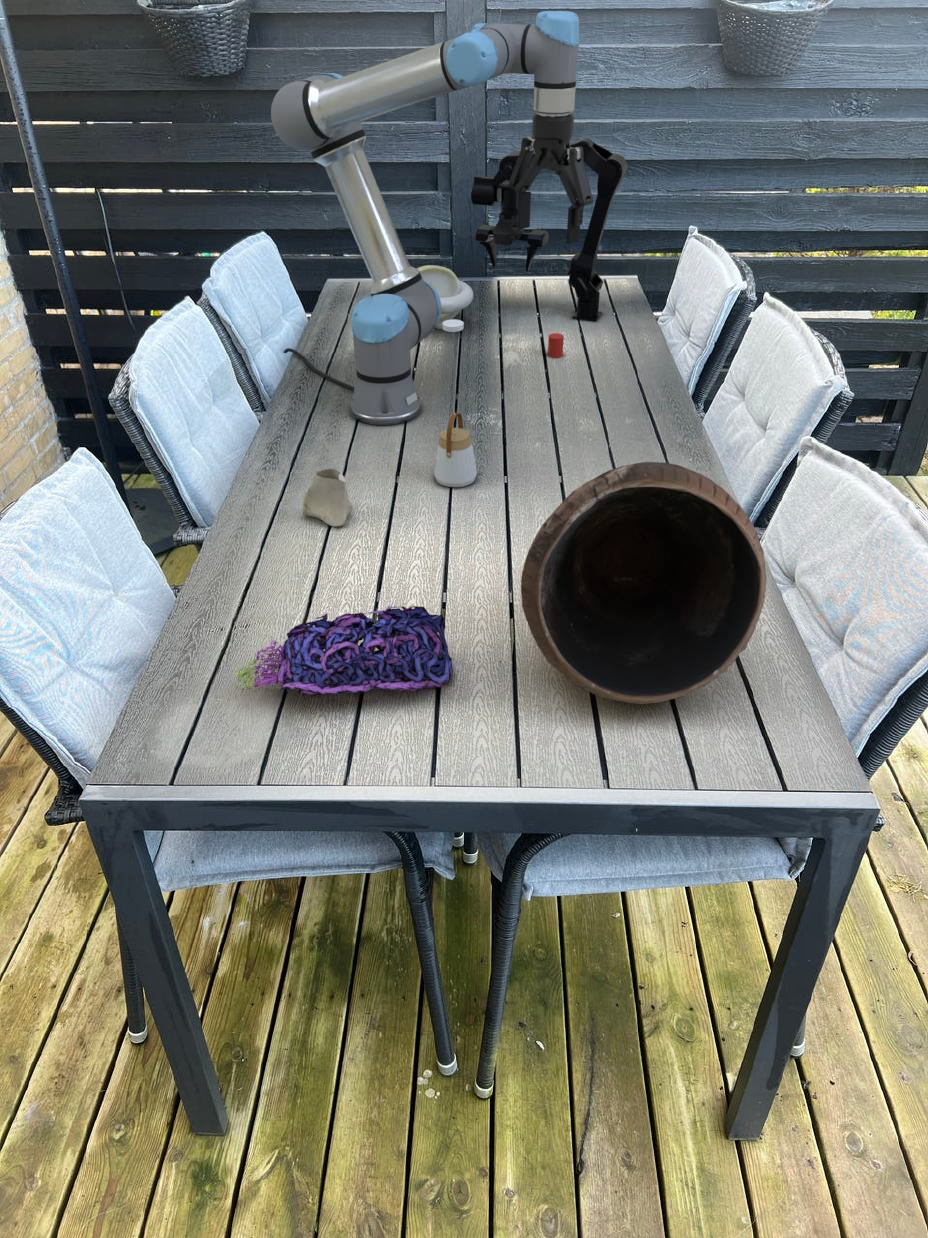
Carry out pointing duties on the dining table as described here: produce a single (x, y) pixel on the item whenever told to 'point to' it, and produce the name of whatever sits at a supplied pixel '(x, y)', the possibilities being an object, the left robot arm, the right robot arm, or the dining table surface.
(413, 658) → the decorative ornament
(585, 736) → the dining table surface
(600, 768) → the dining table surface
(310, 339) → the dining table surface
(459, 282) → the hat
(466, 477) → the pendant light
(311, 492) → the bone
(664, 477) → the pot
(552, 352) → the can
